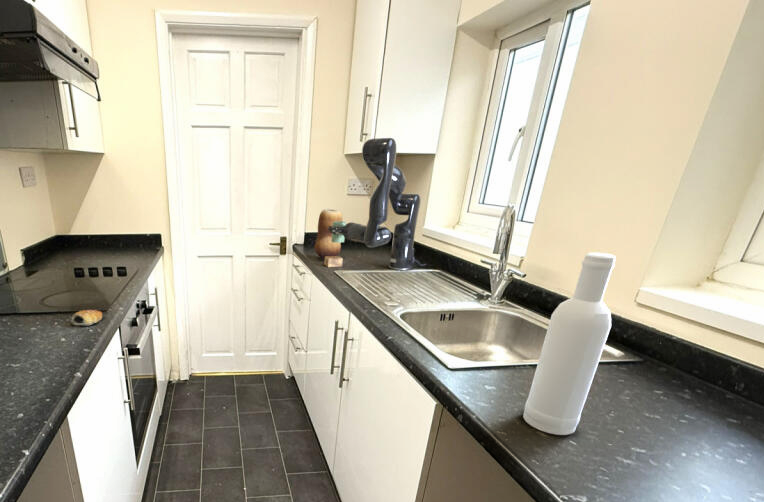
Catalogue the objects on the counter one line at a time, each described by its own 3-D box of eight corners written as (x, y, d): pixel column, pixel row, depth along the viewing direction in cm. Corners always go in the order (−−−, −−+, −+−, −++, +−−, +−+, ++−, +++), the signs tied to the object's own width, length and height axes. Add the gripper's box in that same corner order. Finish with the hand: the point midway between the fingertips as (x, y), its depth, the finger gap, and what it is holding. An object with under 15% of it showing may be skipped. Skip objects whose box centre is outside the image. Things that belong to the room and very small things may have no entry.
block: (337, 264, 203) (338, 256, 201) (342, 266, 197) (342, 258, 196) (324, 264, 202) (324, 256, 200) (328, 267, 196) (328, 258, 195)
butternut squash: (339, 262, 207) (343, 210, 198) (313, 261, 209) (315, 210, 200) (339, 257, 220) (343, 208, 210) (314, 256, 222) (317, 208, 212)
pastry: (91, 315, 129) (89, 304, 128) (109, 318, 127) (107, 306, 126) (69, 325, 121) (67, 312, 119) (88, 328, 119) (86, 315, 117)
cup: (341, 240, 197) (343, 221, 194) (346, 242, 192) (347, 222, 188) (329, 240, 196) (330, 221, 193) (333, 242, 191) (335, 222, 187)
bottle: (557, 411, 77) (609, 250, 65) (586, 436, 69) (650, 259, 58) (513, 410, 77) (557, 249, 66) (537, 435, 70) (591, 259, 59)
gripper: (370, 222, 180) (349, 219, 195) (341, 223, 175) (322, 220, 190) (368, 240, 183) (348, 235, 197) (340, 241, 178) (321, 236, 193)
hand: (336, 228), depth 194 cm, fingers closed on cup, 6 cm apart
